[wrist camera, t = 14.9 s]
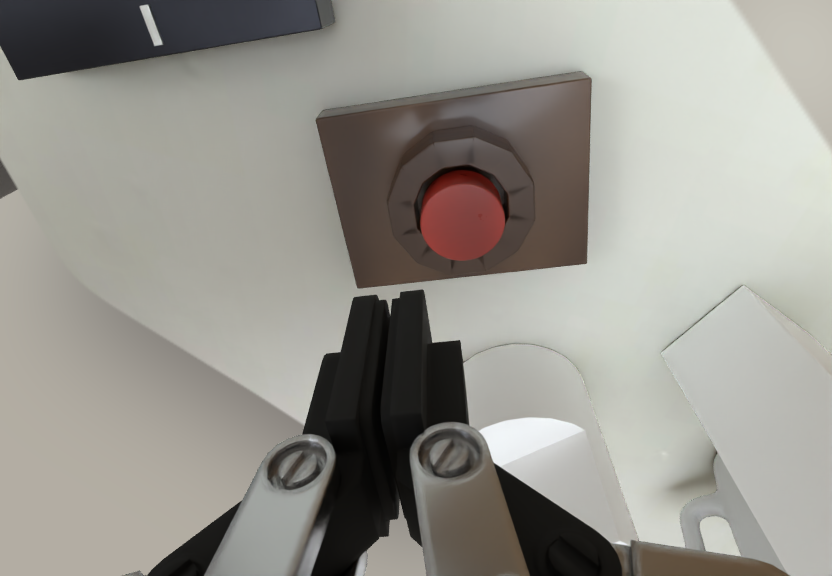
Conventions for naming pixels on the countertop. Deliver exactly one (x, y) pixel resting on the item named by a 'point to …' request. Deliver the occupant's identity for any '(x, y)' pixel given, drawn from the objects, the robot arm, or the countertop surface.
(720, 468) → the mug
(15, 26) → the panel
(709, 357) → the milk
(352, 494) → the robot arm
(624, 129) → the countertop surface
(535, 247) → the brown button base
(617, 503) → the cylinder with rectangular tab
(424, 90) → the countertop surface
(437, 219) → the timer button
